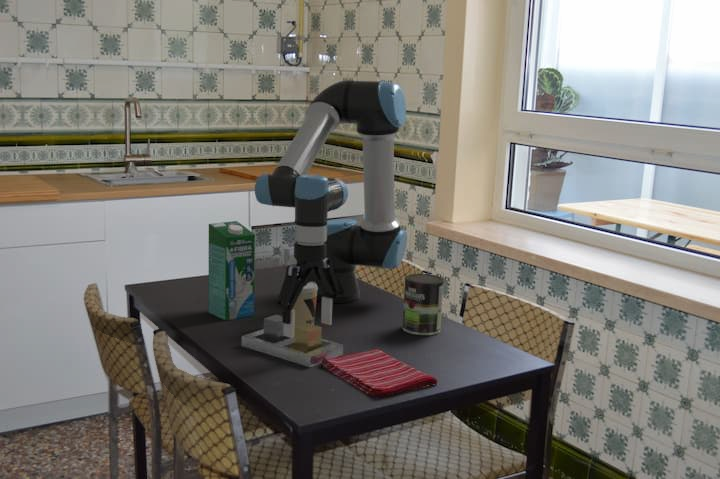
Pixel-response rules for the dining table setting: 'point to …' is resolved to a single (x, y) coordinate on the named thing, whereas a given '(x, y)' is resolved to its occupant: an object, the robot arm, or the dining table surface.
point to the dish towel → (377, 373)
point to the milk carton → (231, 270)
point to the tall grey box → (274, 329)
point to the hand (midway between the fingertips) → (308, 330)
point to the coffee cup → (306, 305)
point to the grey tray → (292, 349)
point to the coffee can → (422, 304)
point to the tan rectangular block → (307, 338)
